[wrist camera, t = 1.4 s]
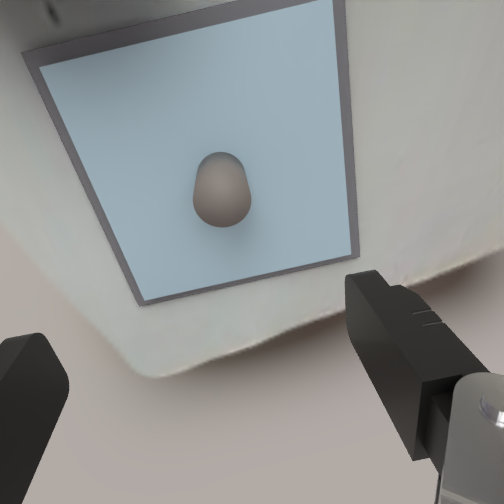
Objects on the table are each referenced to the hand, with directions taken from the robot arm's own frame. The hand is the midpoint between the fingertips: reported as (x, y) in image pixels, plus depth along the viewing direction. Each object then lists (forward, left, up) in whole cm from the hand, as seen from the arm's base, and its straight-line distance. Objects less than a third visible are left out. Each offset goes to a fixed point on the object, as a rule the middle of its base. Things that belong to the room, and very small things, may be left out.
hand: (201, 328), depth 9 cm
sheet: (0, +1, -18) cm, 18 cm away
